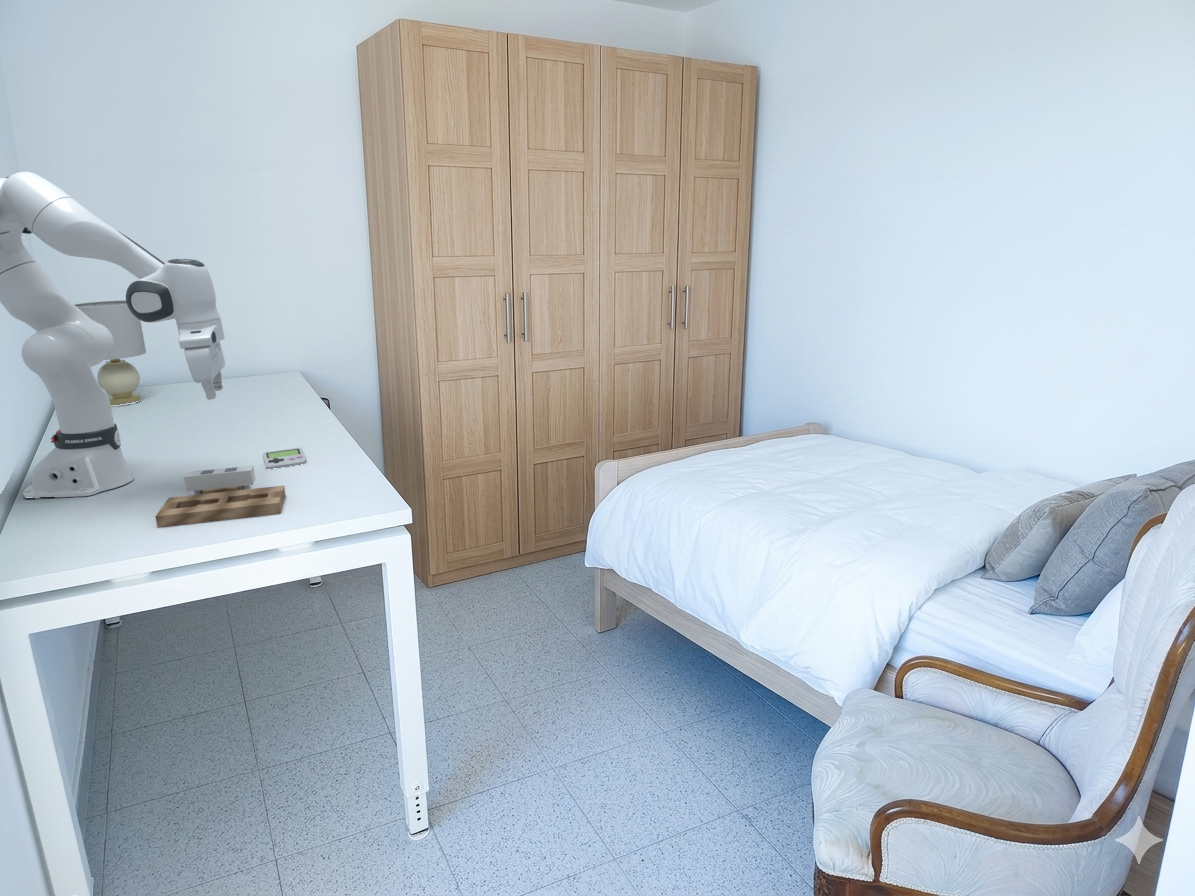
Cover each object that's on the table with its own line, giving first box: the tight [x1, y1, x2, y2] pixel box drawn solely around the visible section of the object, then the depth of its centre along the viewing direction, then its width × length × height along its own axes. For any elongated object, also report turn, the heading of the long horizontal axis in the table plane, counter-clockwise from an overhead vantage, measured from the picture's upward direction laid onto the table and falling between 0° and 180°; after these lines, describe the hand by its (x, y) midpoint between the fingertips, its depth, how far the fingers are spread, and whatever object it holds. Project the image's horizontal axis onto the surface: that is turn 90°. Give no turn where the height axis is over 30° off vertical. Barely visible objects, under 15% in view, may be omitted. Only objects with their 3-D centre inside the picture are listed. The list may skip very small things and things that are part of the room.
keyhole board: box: [154, 485, 287, 528], centre depth 172 cm, size 24×12×2 cm, turn 106°
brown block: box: [203, 486, 241, 494], centre depth 182 cm, size 7×6×2 cm
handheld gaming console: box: [262, 447, 308, 470], centre depth 209 cm, size 10×2×15 cm
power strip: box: [183, 465, 256, 495], centre depth 181 cm, size 14×4×6 cm, turn 106°
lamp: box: [73, 299, 147, 405], centre depth 277 cm, size 20×20×35 cm
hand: (215, 394), depth 179 cm, fingers open, 8 cm apart
